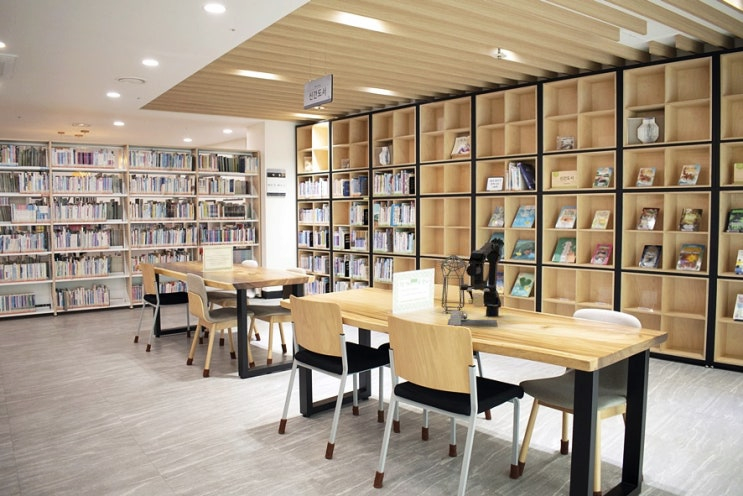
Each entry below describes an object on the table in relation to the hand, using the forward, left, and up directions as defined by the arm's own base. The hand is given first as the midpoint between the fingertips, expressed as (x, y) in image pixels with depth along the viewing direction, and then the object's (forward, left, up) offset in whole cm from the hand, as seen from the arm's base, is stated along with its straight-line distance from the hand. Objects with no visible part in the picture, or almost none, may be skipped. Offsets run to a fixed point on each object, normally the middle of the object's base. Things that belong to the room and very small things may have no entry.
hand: (477, 303), depth 312 cm
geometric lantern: (-9, -36, -12) cm, 39 cm away
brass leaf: (+1, -1, 0) cm, 1 cm away
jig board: (+2, -2, -12) cm, 12 cm away
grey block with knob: (+8, -6, -11) cm, 15 cm away
